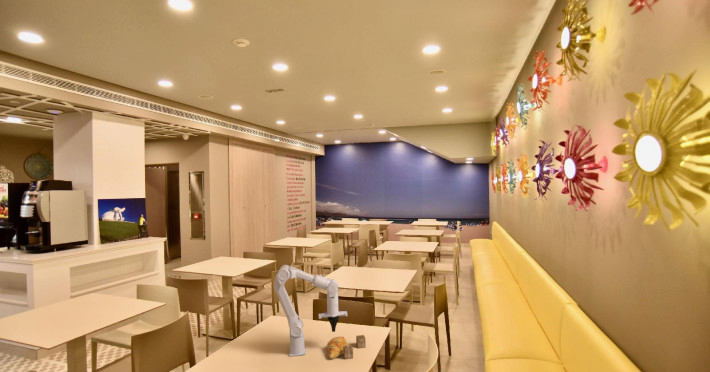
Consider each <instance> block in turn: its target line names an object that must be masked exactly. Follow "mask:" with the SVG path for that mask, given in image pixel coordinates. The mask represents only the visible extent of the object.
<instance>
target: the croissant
mask: <svg viewBox="0 0 710 372" xmlns="http://www.w3.org/2000/svg"><path fill="white" fill-rule="evenodd" d="M347 343H348V342H347V339H346V338H345V337H344V336H335V337H332V338H331V339H330V340H329V341H328V342H327V344H326V347H327V352H328V357H329V359H330V360H332V359H336V358H339V357H340V356H342V355H344V352H343V346H345V345H348V344H347Z"/></svg>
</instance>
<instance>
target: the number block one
mask: <svg viewBox="0 0 710 372" xmlns="http://www.w3.org/2000/svg"><path fill="white" fill-rule="evenodd" d="M343 352H344V353H343V358H344V360H345V361H346V360H351V359H354V348H353V346H352V344H347V345H345V346H343Z"/></svg>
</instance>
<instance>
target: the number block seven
mask: <svg viewBox="0 0 710 372" xmlns="http://www.w3.org/2000/svg"><path fill="white" fill-rule="evenodd" d="M355 338H356V342H355V344H356V347H357V349H365V348H366V336H365V334H359V335H356V337H355Z"/></svg>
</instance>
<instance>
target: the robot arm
mask: <svg viewBox="0 0 710 372" xmlns="http://www.w3.org/2000/svg"><path fill="white" fill-rule="evenodd" d="M295 278H297V279H301V280H304V281H307V282H309V283H310V282H311V284H312V286H314V287H316V288H318V289H322V290H324V291H326V292H327V293H326V308H327V309H326V310H327V311H326V312H322V313H318V319H327V320H328V322H329V323H330V326H331V332H332V333H334V332H336V328H337V324H338V322H339V320H340V318H339V317H348V311H347V310H343V311H342V310H339V295H338V291H339V285H338V282H337V281H336V280H334V279H333V278H327V277H324V276H323V275H322V274H316V275H313V274H311V273H308V272H305V271H304V270H302V269H299V268H297V267H294V266H292V265H291V266H290V265H288V264H283V265H281V266H280V268H279V269H278V271H277V273H276V274H275V278H274V282H273V283H274V284H273V289H274V292H275V293H276V297H277V298H278V301H279V303H280V305H281V307H282V309H283V312H284V314H285V317H286V320H287V324H288V327H289V348H288V350H289V357H294V356H295V357H297V356H303V355H306V354H307V352H306V346H305V332H304V331H303V328H304V321H303V320H302V319H301V318H300V317H299V315H298V314H297V312H296V310H295V308H294V305H293V303H292V301H291V298H290V296H289V294H288V291H287V288H286V287H285V284H286V282H287V281H288V280H289V279H290V280H292V279H295Z"/></svg>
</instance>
